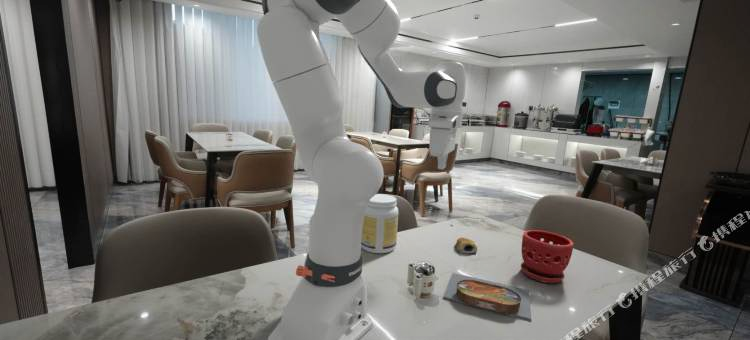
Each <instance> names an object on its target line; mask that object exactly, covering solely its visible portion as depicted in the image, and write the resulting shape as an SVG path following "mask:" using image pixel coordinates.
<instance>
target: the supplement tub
mask: <svg viewBox="0 0 750 340" xmlns="http://www.w3.org/2000/svg"><path fill="white" fill-rule="evenodd" d="M397 204H398V201H397V198H396V197H395V196H393V195H390V194H384V193H383V194H382V193H376V194H375V195H374V196H373V197H372V198H371V199H370V201H369V203H368V206H367V209H366V212H365V216H364V220H363V227H362V241H361V249H363V250H364V251H366V252H368V253H372V254H386V253H390V252H392V251H394V250H395V249H396V247H397V239H398V225H399V223H398V222H399V214H400V213H399V208H398V207H397Z"/></svg>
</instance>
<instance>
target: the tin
mask: <svg viewBox="0 0 750 340" xmlns="http://www.w3.org/2000/svg"><path fill="white" fill-rule="evenodd" d="M456 294H457V297H458V298H459V299H460V300H461V301H462V302H464V303H466V304H465V305H467V304H469V305H468V306H471V305H472V306H471V307H475V306H476V307H475V308H479V307H480V308H479V309H483V308H484V310H487V309H488V310H487V311H490V310H492V311H491V312H494V311H496V312H495V313H498V312H500V313H499V314H502V313H506V314H511V313H515V312H517V311H518V310H519V308H520V302H521V297H520V295H519V294H518V293H516V292H515V291H513V290H511V289H509V288H506V287H502V286H498V285H493V284H489V283H485V282H480V281H476V280H461V281H459V282H458V283H457V291H456ZM506 314H505V315H506Z"/></svg>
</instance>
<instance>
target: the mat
mask: <svg viewBox="0 0 750 340" xmlns="http://www.w3.org/2000/svg"><path fill="white" fill-rule="evenodd" d="M450 276H451V277H450V279H449V282H448V284H447V286H446V288H445V292H444V294H443V299H444V300H448V301H453V302H456V303H460V304H464V305H468V306H471V307H473V306H472V305H469V304H466V303H464V302H462V301H461V300H460V299H459V298H458V297H457V294H456V291H457V283H458V282H459V281H461V280H476V281H480V282H485V283H489V284H493V285H498V286H502V287H506V288H509V289H511V290H513V291H515V292H516V293H518V294H519V295H520V297H521V302H520V308H519V310H518V311H517V312H515V313H511V314H506V313H500V312H496V311H492V310H488V309H486V310H487V311H491V312H495V313H498V314H503V315H506V316H511V317H515V318H518V319H523V320H526V321H530V322H531V321H532V311H531V299H530V290H529V289H526V288H521V287H517V286H513V285H508V284H505V283H500V282H494V281H491V280H486V279H481V278H478V277H473V276H468V275H465V274H460V273H456V272H452V274H451V275H450ZM474 307H475V308H477V307H476V306H474ZM478 308H479V309H481V308H480V307H478ZM482 309H484V308H482ZM484 310H485V309H484Z"/></svg>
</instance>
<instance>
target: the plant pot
mask: <svg viewBox="0 0 750 340" xmlns="http://www.w3.org/2000/svg"><path fill="white" fill-rule="evenodd" d="M542 239H543V240H542ZM574 245H575V244H574V242H573V241H572V240H571V239H570V238H567V237H566V236H563V235H561V234H557V233H555V232H551V231H550V232H549V231H546V230H538V229H537V230H536V229H534V230H532V229H531V230H530V229H529V230H524V232H523V234H522V238H521V258H522V260H523V262H522V263H521V264H520V268H521V270H522V272H523V273H524V274H525V275H527V276H528V277H529V278H531V279H533V280H536V281H538V282H542V283H543V282H544V283H553V284H555V283H559V282H561V281H563V280H564V278H565V276H566V274H565V273H564V271H565V270H566V269H567V267H568V265H569V263H570V261H571V258H572V255H573V251H574Z"/></svg>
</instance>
